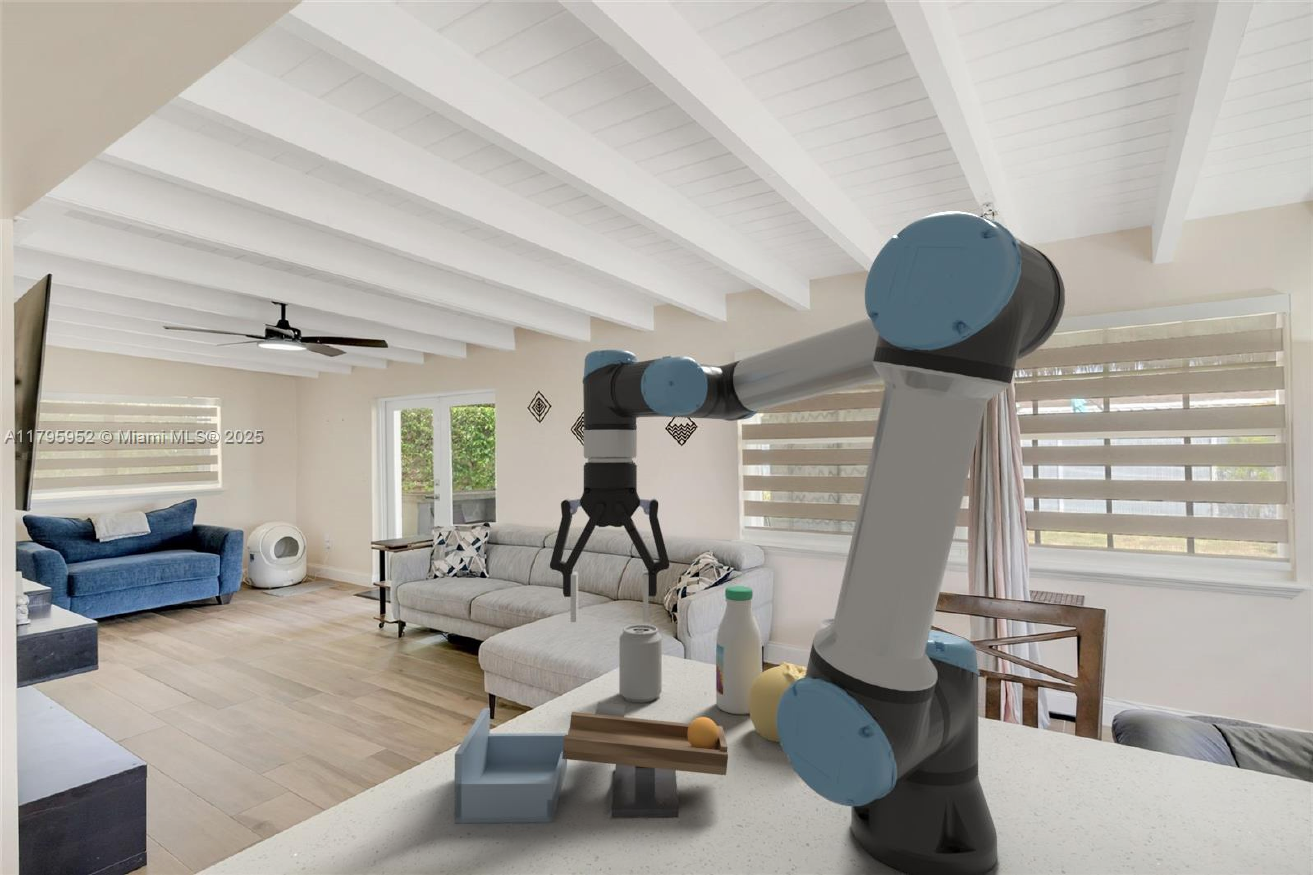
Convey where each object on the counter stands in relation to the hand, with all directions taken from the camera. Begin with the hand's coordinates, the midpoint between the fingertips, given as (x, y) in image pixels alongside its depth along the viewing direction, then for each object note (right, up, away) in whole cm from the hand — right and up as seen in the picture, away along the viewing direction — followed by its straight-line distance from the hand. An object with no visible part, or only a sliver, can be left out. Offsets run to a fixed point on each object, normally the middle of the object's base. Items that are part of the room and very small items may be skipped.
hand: (610, 619), depth 93 cm
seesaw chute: (+5, -14, -5) cm, 16 cm away
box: (-11, -19, -9) cm, 24 cm away
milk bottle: (+20, -20, +18) cm, 34 cm away
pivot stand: (+5, -19, -9) cm, 22 cm away
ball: (+12, -12, -9) cm, 20 cm away
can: (+4, -20, +23) cm, 31 cm away
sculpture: (+27, -20, +7) cm, 34 cm away
